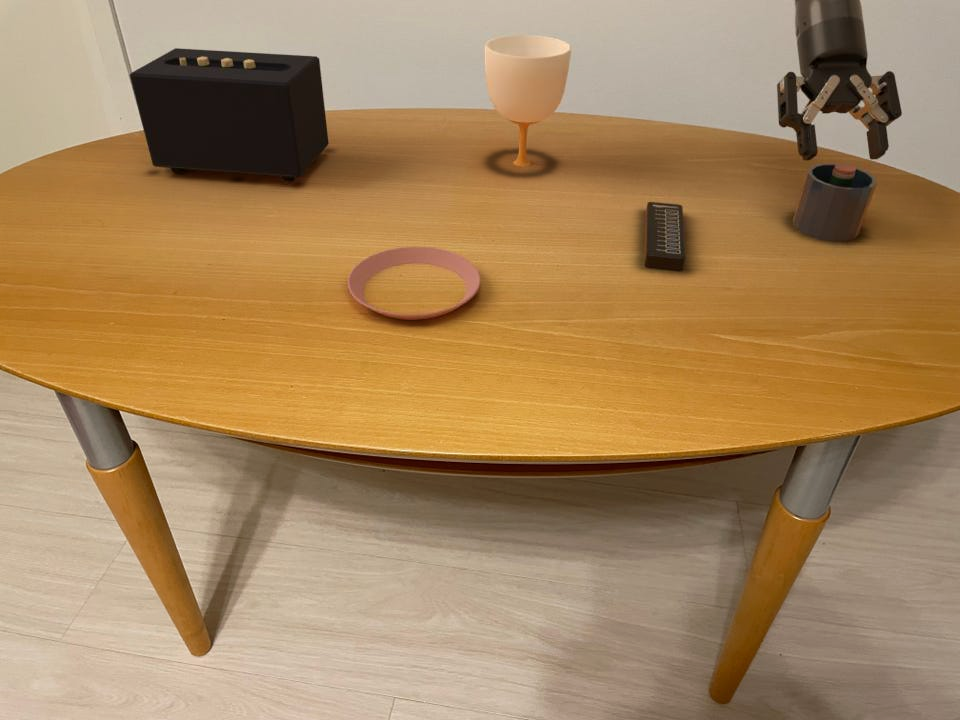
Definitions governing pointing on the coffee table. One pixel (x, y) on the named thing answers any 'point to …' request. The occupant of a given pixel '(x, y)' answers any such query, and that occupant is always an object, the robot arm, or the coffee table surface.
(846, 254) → the coffee table surface
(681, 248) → the dark brown flat block
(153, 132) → the speaker
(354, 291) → the ring
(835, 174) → the pencil
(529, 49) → the cup
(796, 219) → the pen cup
